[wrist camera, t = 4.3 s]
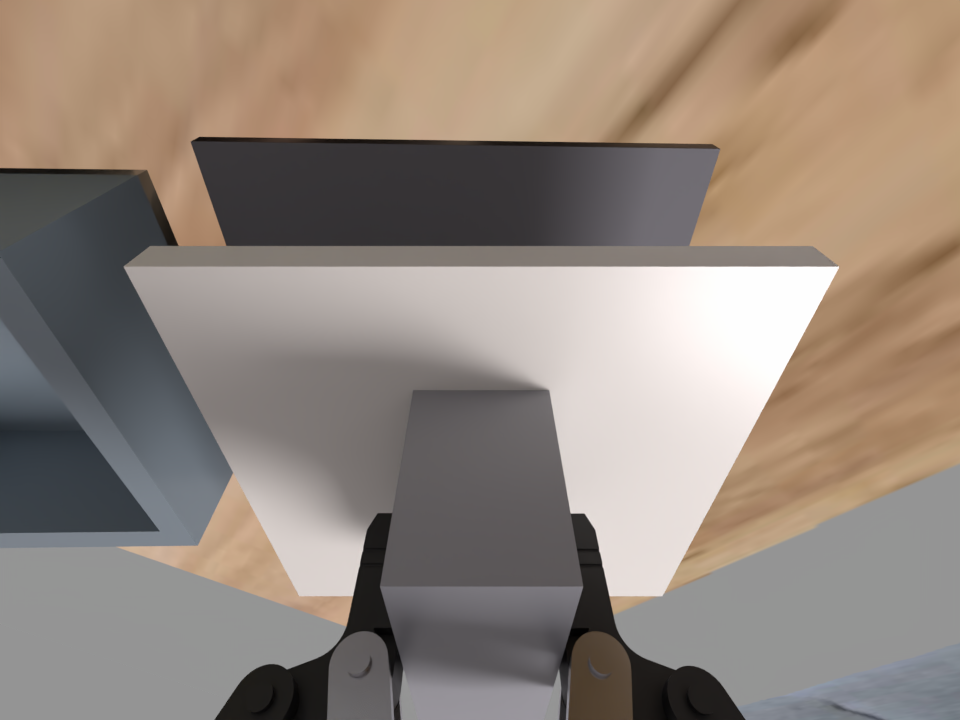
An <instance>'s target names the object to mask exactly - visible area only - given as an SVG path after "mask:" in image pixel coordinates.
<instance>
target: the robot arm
mask: <svg viewBox="0 0 960 720" xmlns="http://www.w3.org/2000/svg"><path fill="white" fill-rule="evenodd" d="M391 518H392V513H377V515H376V516H375V518H374V519H373V521H372V523H371V524H370V526H369V527H368V529H367V532H366V537H365V541H364V546H363V552H362V556H361V560H360V567H359V570H358V575H357V579H356V584H355V589H354V594H353V599H352V603H351V608H350V613H349V618H348V622H347V626H346V629H345V631H344V633H343V635H342V637H341V638H340V640H339V641H338V642H337V644H336V645H335V646H334V647H333V648H332V649H331V650H329V651H328V652H327V653H325V654H324V655H322V656H320V657H318V658H316V659H313V660H311V661H308V662H305V663H303V664H300V665H297V666H295V667H292V668H289V669H286V668H284V667H283V666H280V665H278V664H267V665H263V666H260V667H258V668H256V669H254V670H253V671H251V672H250V673H249V674H248V675H246V676H245V677H244V678H243V679H242V681H241V682H240V683H239V684H238V686H237V687H236V689H235V690H234V692H233V693H232V695H231V696H230V697H229V699H228V700H227V702H226V704H225V705H224V706H223V708H222V709H221V711H220V712H219V714H218V715H217V717H216V718H215V720H402V706H401V686H402V677H403V665H402V662H401V658H400V655H399V651H398V648H397V644H396V641H395V637H394V634H393V630H392V627H391V623H390V620H389V616H388V613H387V609H386V606H385V602H384V599H383V595H382V592H381V588H380V583H381V578H382V572H383V566H384V560H385V554H386V548H387V542H388V536H389V530H390V524H391ZM571 519H572V524H573V530H574V536H575V542H576V548H577V553H578V559H579V565H580V571H581V576H582V582H583V589H582V593H581V596H580V599H579V603H578V606H577V609H576V613H575V616H574V620H573V623H572V626H571V630H570V633H569V636H568V640H567V643H566V647H565V650H564V653H563V657H562V660H561V664H560V667H559V673H560V681H561V688H560V693H559V706H558V720H746V719H745V718H744V717H743V715H742V714H741V712H740V711H739V709H738V708H737V706H736V705H735V703H734V702H733V700H732V699H731V697H730V696H729V695H728V693H727V692H726V690H725V689H724V687H723V686H722V685H721V683H720V682H719V681H718V680H717V679H716V678H715V677H714V676H713V675H711V674H710V673H709V672H707V671H705V670H704V669H701V668H699V667H695V666H683V667H680V668H678V669H677V670H674V669H672V668H669V667H666V666H664V665H661V664H658V663H656V662H653V661H650V660H648V659H645V658H643V657H641V656H640V655H638V654H636V653H635V652H634V651H633V650H631V649H630V648H629V647H628V646H627V645H626V643H625V642H624V641H623V639H622V638H621V636H620V634H619V632H618V630H617V627H616V624H615V620H614V615H613V610H612V606H611V601H610V596H609V592H608V587H607V582H606V578H605V573H604V568H603V566H602V559H601V554H600V552H599V545H598V540H597V536H596V531H595V529H594V527H593V526H592V524H591V523H590V521H589V520H588V518H587V516H586V515H585V513H571Z"/></svg>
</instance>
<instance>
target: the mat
mask: <svg viewBox="0 0 960 720" xmlns="http://www.w3.org/2000/svg"><path fill="white" fill-rule="evenodd" d="M191 145H192V148H193V151H194V153H195V156H196V159H197V162H198V165H199V168H200V171H201V174H202V177H203V179H204V182H205V185H206V188H207V191H208V194H209V197H210V200H211V203H212V205H213V208H214V211H215V214H216V217H217V220H218V223H219V226H220V229H221V231H222V234H223V237H224V240H225V243H226V246H689V245H690V242H691V239H692V236H693V233H694V230H695V227H696V223H697V220H698V217H699V214H700V211H701V208H702V205H703V202H704V199H705V195H706V192H707V189H708V186H709V183H710V180H711V177H712V174H713V171H714V167H715V164H716V161H717V158H718V155H719V152H720V148H718V147H716V146H715V145H713V144H678V143H607V142H537V141H467V140H396V139H326V138H256V137H198V138H196V139H194V140H193V141H191Z"/></svg>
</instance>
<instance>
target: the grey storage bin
mask: <svg viewBox="0 0 960 720" xmlns="http://www.w3.org/2000/svg"><path fill="white" fill-rule="evenodd" d="M149 246H179V245H178V243H177V241H176V238H175V236H174V233H173V231H172V229H171V226H170V224H169V221H168V219H167V217H166V214H165V212H164V209H163V207H162V204H161V202H160V200H159V197H158V195H157V192H156V190H155V188H154V185H153V183H152V180H151V178H150V176H149V173H148V171H147V170H127V169H44V168H0V548H49V547H131V546H198V544H199V542H200V540H201V538H202V536H203V534H204V532H205V530H206V528H207V526H208V524H209V522H210V520H211V518H212V515H213V513H214V511H215V509H216V507H217V505H218V503H219V501H220V499H221V497H222V495H223V493H224V491H225V489H226V487H227V485H228V483H229V480H230V478H231V476H232V474H233V471H232V469H231V467H230V466H229V464H228V462H227V460H226V458H225V456H224V454H223V452H222V451H221V449H220V447H219V445H218V443H217V441H216V439H215V437H214V436H213V434H212V432H211V430H210V428H209V426H208V424H207V422H206V421H205V419H204V417H203V415H202V413H201V411H200V409H199V407H198V406H197V404H196V402H195V400H194V398H193V396H192V394H191V392H190V391H189V389H188V387H187V385H186V383H185V381H184V379H183V377H182V376H181V374H180V372H179V370H178V368H177V366H176V364H175V362H174V361H173V359H172V357H171V355H170V353H169V351H168V349H167V347H166V346H165V344H164V342H163V340H162V338H161V336H160V334H159V332H158V331H157V329H156V327H155V325H154V323H153V321H152V319H151V317H150V316H149V314H148V312H147V310H146V308H145V306H144V304H143V302H142V301H141V299H140V297H139V295H138V293H137V291H136V289H135V287H134V286H133V284H132V282H131V280H130V278H129V276H128V274H127V272H126V271H125V269H124V266H125V265H126V264H127V263H129V262H130V261H131V260H133V259H134V258H135V257H136V256H138V255H139V254H140V253H142V252H143V251H144V250H146V249H147V248H148V247H149Z"/></svg>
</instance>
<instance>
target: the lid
mask: <svg viewBox="0 0 960 720" xmlns="http://www.w3.org/2000/svg"><path fill="white" fill-rule="evenodd" d="M124 269H125V271H126V272H127V274H128V276H129V278H130V280H131V282H132V284H133V286H134V287H135V289H136V291H137V293H138V295H139V297H140V299H141V301H142V302H143V304H144V306H145V308H146V310H147V312H148V314H149V316H150V317H151V319H152V321H153V323H154V325H155V327H156V329H157V331H158V332H159V334H160V336H161V338H162V340H163V342H164V344H165V346H166V347H167V349H168V351H169V353H170V355H171V357H172V359H173V361H174V362H175V364H176V366H177V368H178V370H179V372H180V374H181V376H182V377H183V379H184V381H185V383H186V385H187V387H188V389H189V391H190V392H191V394H192V396H193V398H194V400H195V402H196V404H197V406H198V407H199V409H200V411H201V413H202V415H203V417H204V419H205V421H206V422H207V424H208V426H209V428H210V430H211V432H212V434H213V436H214V437H215V439H216V441H217V443H218V445H219V447H220V449H221V451H222V452H223V454H224V456H225V458H226V460H227V462H228V464H229V466H230V467H231V469H232V471H233V473H234V475H235V477H236V479H237V481H238V482H239V484H240V486H241V488H242V490H243V492H244V494H245V496H246V497H247V499H248V501H249V503H250V505H251V507H252V509H253V511H254V512H255V514H256V516H257V518H258V520H259V522H260V524H261V526H262V527H263V529H264V531H265V533H266V535H267V537H268V539H269V541H270V542H271V544H272V546H273V548H274V550H275V552H276V554H277V556H278V557H279V559H280V561H281V563H282V565H283V567H284V569H285V571H286V572H287V574H288V576H289V578H290V580H291V582H292V584H293V586H294V588H295V589H296V591H297V593H298V595H299V596H353V594H354V589H355V584H356V579H357V575H358V570H359V567H360V560H361V556H362V552H363V546H364V541H365V537H366V532H367V529H368V527H369V526H370V524H371V523H372V521H373V519H374V518H375V516H376V515H377V513H392V518H391V524H390V530H389V536H388V542H387V548H386V554H385V560H384V566H383V572H382V578H381V583H380V588H381V592H382V595H383V599H384V602H385V606H386V609H387V613H388V616H389V620H390V623H391V627H392V630H393V634H394V637H395V641H396V644H397V648H398V651H399V655H400V658H401V662H402V665H403V669H404V672H405V676H406V679H407V683H408V686H409V690H410V693H411V696H412V700H413V703H414V707H415V710H416V714H417V717H418V720H544V718H545V714H546V711H547V707H548V704H549V701H550V697H551V694H552V691H553V687H554V684H555V680H556V677H557V674H558V670H559V667H560V664H561V660H562V657H563V653H564V650H565V647H566V643H567V640H568V636H569V633H570V630H571V626H572V623H573V620H574V616H575V613H576V609H577V606H578V603H579V599H580V596H581V593H582V589H583V582H582V576H581V571H580V565H579V559H578V553H577V548H576V542H575V536H574V530H573V524H572V519H571V513H585V515H586V516H587V518H588V520H589V521H590V523H591V524H592V526H593V527H594V529H595V531H596V536H597V540H598V545H599V552H600V554H601V559H602V566H603V568H604V573H605V578H606V582H607V587H608V592H609V596H663V594H664V592H665V590H666V589H667V587H668V585H669V583H670V581H671V579H672V577H673V576H674V574H675V572H676V570H677V568H678V566H679V564H680V563H681V561H682V559H683V557H684V555H685V553H686V551H687V549H688V548H689V546H690V544H691V542H692V540H693V538H694V536H695V535H696V533H697V531H698V529H699V527H700V525H701V523H702V522H703V520H704V518H705V516H706V514H707V512H708V510H709V509H710V507H711V505H712V503H713V501H714V499H715V497H716V496H717V494H718V492H719V490H720V488H721V486H722V484H723V483H724V481H725V479H726V477H727V475H728V473H729V471H730V470H731V468H732V466H733V464H734V462H735V460H736V458H737V456H738V455H739V453H740V451H741V449H742V447H743V445H744V443H745V442H746V440H747V438H748V436H749V434H750V432H751V430H752V429H753V427H754V425H755V423H756V421H757V419H758V417H759V416H760V414H761V412H762V410H763V408H764V406H765V404H766V403H767V401H768V399H769V397H770V395H771V393H772V391H773V390H774V388H775V386H776V384H777V382H778V380H779V378H780V376H781V375H782V373H783V371H784V369H785V367H786V365H787V363H788V362H789V360H790V358H791V356H792V354H793V352H794V350H795V349H796V347H797V345H798V343H799V341H800V339H801V337H802V336H803V334H804V332H805V330H806V328H807V326H808V324H809V323H810V321H811V319H812V317H813V315H814V313H815V311H816V310H817V308H818V306H819V304H820V302H821V300H822V298H823V297H824V295H825V293H826V291H827V289H828V287H829V285H830V283H831V282H832V280H833V278H834V276H835V274H836V272H837V270H838V269H839V266H838V265H837V264H835V263H834V262H833V261H831V260H830V259H829V258H828V257H826V256H825V255H824V254H822V253H821V252H820V251H818V250H817V249H816V248H814V247H813V246H149V247H148V248H147V249H146V250H144V251H143V252H142V253H140V254H139V255H138V256H136V257H135V258H134V259H133V260H131V261H130V262H129V263H127V264H126V265H125V266H124Z"/></svg>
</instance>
